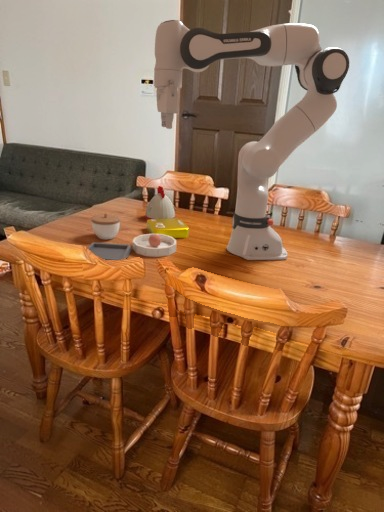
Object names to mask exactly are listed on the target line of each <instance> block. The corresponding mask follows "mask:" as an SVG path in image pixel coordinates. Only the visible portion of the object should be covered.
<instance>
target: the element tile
mask: <svg viewBox="0 0 384 512" xmlns="http://www.w3.org/2000/svg"><path fill="white" fill-rule="evenodd" d="M146 231H147V232H148V234H162V235H167V236H171V237H173V238H174V239H175V240H177V239H187V238H189V234H190V227H189V226H188V225H187V224H186V223H185V222H184V221H183V220H182V219H180V218H178V217H175V218H170V219H149V220H146Z"/></svg>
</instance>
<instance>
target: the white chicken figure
mask: <svg viewBox="0 0 384 512" xmlns="http://www.w3.org/2000/svg"><path fill="white" fill-rule="evenodd" d="M156 190H157V193H156V194H155V195H154V196H153V197H152V198H150V199H151V200H149V202H148V203H146V206H145V207H146V208H145V220H146V221H147V220H149V219H170V218H176V212H175V211H176V209H175V205H174V204H173V203H172V201H171V199H170V198H169V197H168V196H167V195H166V193H165V190H164V186H161V185H158V186H157V189H156Z"/></svg>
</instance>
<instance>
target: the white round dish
mask: <svg viewBox="0 0 384 512" xmlns="http://www.w3.org/2000/svg"><path fill="white" fill-rule="evenodd" d="M151 235H153V234H150V233H146V234H145V233H144V234H140V235H138V236H135V237H134V238H133V240H132V250H133V251H134V252H135V254H137V255H141V256H144V257H151V258H154V257H155V258H160V257H168V256H171V255H173V254H175V253H176V251H177V239H174V238H173V237H171V236H167V235H162V234H157V235H159V236H160V238H161V243H160V245H159V246H157V247H153V246H151V245H150V244H149V237H150V236H151Z"/></svg>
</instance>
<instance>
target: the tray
mask: <svg viewBox="0 0 384 512" xmlns="http://www.w3.org/2000/svg"><path fill="white" fill-rule="evenodd" d="M87 248H88V249H89V250H91V251H92V252H93V253H94V254H95V255H97V256H99V257H100V258H102V259H105V260H121V259H124V258H127V257H128V258H129V256H130V254H131V252H132V250H133V248H132V244H123V243H108V242H94V241H93V242H91V244H90V245H89V246H88V247H87ZM128 258H127V259H128Z"/></svg>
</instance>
